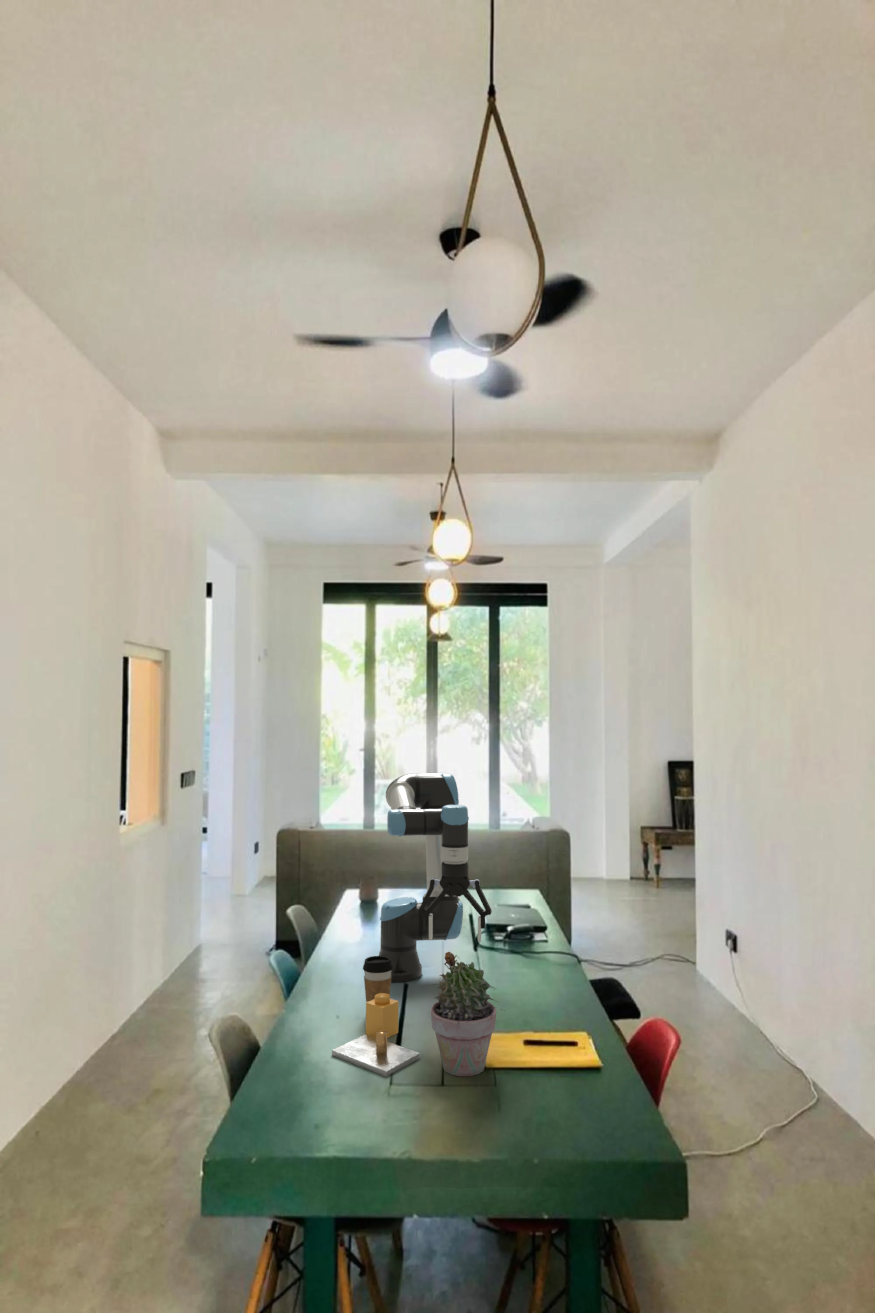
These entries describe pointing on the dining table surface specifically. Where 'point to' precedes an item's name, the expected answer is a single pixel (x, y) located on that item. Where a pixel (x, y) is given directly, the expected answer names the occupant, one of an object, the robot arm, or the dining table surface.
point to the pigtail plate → (376, 1054)
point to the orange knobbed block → (382, 1015)
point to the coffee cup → (377, 976)
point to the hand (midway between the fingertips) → (455, 940)
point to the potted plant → (463, 1019)
